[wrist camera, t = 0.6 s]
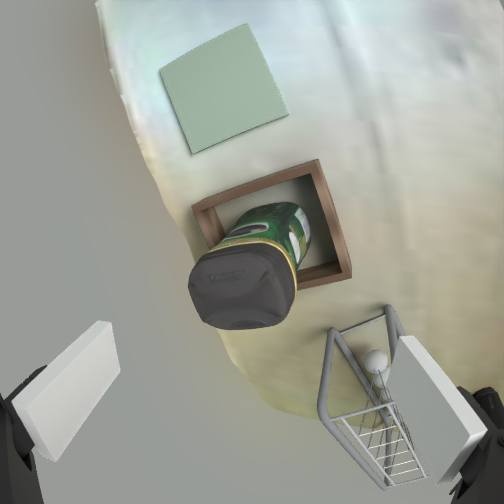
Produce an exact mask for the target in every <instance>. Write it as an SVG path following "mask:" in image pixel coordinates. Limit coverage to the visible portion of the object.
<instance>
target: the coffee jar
mask: <svg viewBox="0 0 504 504" xmlns="http://www.w3.org/2000/svg"><path fill="white" fill-rule="evenodd" d="M310 242H311V233H310V227H309V223H308V220H307V217H306V215H305V213H304V211H303V210H302V209H301V208H300V207H299V206H298V205H296V204H294V203H290V202H281V203H274V204H269V205H264V206H261V207H258V208H255V209H252V210H250V211H248V212H246V213H245V214H244V215H243V216H242V217H241V218H240V219H239V221H238V222H237V223H236V225H235V226H234V228H233V229H232V230H231V231H230V232H229V234H228V235H227V236H226V237H225V238H224V239H223V240H222V241H221V242H220V243H219V244H218V245H216V246H215V247H213V248H212V249H211V250H209V251H208V252H207V253H205V254H204V255H203V256H202V257H201V258H200V259H199V261H198V262H197V264H196V265H195V266H194V268H193V269H192V272H191V274H190V277H189V283H188V288H189V292H190V295H191V298H192V301H193V303H194V306H195V308H196V310H197V312H198V314H199V316H200V318H201V319H202V321H203V322H205V323H208V324H209V325H211V326H214V327H216V328H219V329H224V330H244V329H256V328H263V327H270V326H274V325H277V324H279V323H280V322H282V321H283V320H284V319H285V318H286V316H287V314H288V313H289V311H290V307H291V306H292V303H293V302H294V300H295V297H296V293H297V278H296V272H297V269H298V267H299V265H300V263H301V262H302V260H303V258H304V256H305V254H306V252H307V250H308V248H309V245H310Z"/></svg>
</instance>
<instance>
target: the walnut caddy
mask: <svg viewBox="0 0 504 504" xmlns="http://www.w3.org/2000/svg"><path fill="white" fill-rule="evenodd" d="M309 173H311V176H312V178H313V181H314V184H315V187H316V190H317V193H318V196H319V199H320V202H321V205H322V208H323V211H324V214H325V217H326V220H327V223H328V226H329V229H330V233H331V236H332V239H333V242H334V246H335V249H336V252H337V256H338V259H339V261H336V262H332V263H328V264H324V265H320V266H315V267H311V268H307V269H303V270H299V271H297V272H296V278H297V290H301V289H306V288H311V287H315V286H320V285H324V284H329V283H333V282H337V281H342V280H346V279H350V278H352V267H351V261H350V257H349V254H348V250H347V247H346V243H345V240H344V236H343V233H342V229H341V226H340V223H339V220H338V216H337V213H336V210H335V207H334V204H333V200H332V197H331V194H330V191H329V188H328V185H327V182H326V179H325V176H324V174H323V171H322V168H321V165H320V162H319V159H316V160H313V161H310V162H307V163H303V164H300V165H297V166H294V167H291V168H288V169H285V170H282V171H279V172H276V173H273V174H270V175H268V176H265V177H262V178H259V179H256V180H253V181H251V182H248V183H245V184H242V185H239V186H237V187H234V188H231V189H229V190H226V191H223V192H221V193H218V194H215V195H213V196H210V197H207V198H205V199H203V200H201V201H199V202H198V203H196V204H194V205H192V206H191V207H192V210H193V212H194V214H195V217H196V219H197V221H198V224H199V226H200V228H201V231H202V233H203V235H204V237H205V240H206V242H207V244H208V247H209V249H210V250H211V249H212V248H213V247H215V246H216V245H218V244H219V243H220V242H221V241H222V240H223V239H224V238H225V237H226V235H225V233H224V230H223V228H222V225H221V223H220V221H219V218H218V216H217V213H216V211H215V209H214V206H215V205H217V204H220V203H223V202H226V201H228V200H231V199H234V198H237V197H240V196H243V195H245V194H248V193H251V192H254V191H257V190H260V189H263V188H266V187H269V186H272V185H275V184H278V183H281V182H284V181H287V180H290V179H293V178H296V177H300V176H303V175H306V174H309Z"/></svg>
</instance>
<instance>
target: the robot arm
mask: <svg viewBox="0 0 504 504" xmlns="http://www.w3.org/2000/svg"><path fill="white" fill-rule="evenodd" d="M119 372H120V366H119V361H118V356H117V351H116V346H115V341H114V335H113V330H112V324H111V322H104V321H97V322H96V323H95V324H93V325H92V326H91V327H90V328H89V329H88V330H87V331H86V332H85V333H83V334H82V335H81V336H80V337H79V338H78V339H77V340H75V341H74V342H73V343H72V344H71V345H70V346H69V347H68V348H67V349H66V350H65V351H64V352H62V353H61V354H60V355H59V356H58V357H57V358H56V359H55V360H54V361H53V362H51V363H50V364H49V365H48V366H47V365H45V366H43V367H41V368H39V369H37V370H35V371H34V372H33V373H32V374H31V375H30V376H29V378H27V379H26V380H25V381H24V382H23V383H22V384H20V385H19V386H18V387H17V388H16V389H15V390H14V391H13V392H12V393H11V394H10V395H9V396H8V397H7V398H6V399H5V400H3V398H2V396H1V394H0V504H44V502H43V498H42V494H41V490H40V486H39V481H38V476H37V471H36V465H35V460H34V455H33V453H32V451H31V449H32V448H33V447H34V446H36V448H37V449H38V451H39V453H40V454H41V455H42V456H44V457H46V458H48V459H50V460H52V461H54V462H57V460H58V459H59V457H60V456H61V454H62V453H63V451H64V450H65V448H66V447H67V446H68V444H69V443H70V441H71V439H72V438H73V437H74V435H75V433H76V432H77V431H78V430H79V428H80V427H81V425H82V423H83V422H84V421H85V420H86V418H87V417H88V415H89V414H90V412H91V411H92V410H93V408H94V407H95V405H96V404H97V403H98V401H99V400H100V398H101V397H102V396H103V394H104V393H105V391H106V390H107V389H108V387H109V386H110V385H111V383H112V382H113V381H114V379H115V378H116V376H117V375H118V374H119ZM386 386H387V388H388V390H389V392H390V394H391V396H392V398H393V400H394V402H395V404H396V406H397V408H398V410H399V412H400V414H401V416H402V418H403V420H404V422H405V424H406V426H407V428H408V430H409V432H410V434H411V436H412V438H413V440H414V442H415V445H416V447H417V449H418V451H419V453H420V455H421V457H422V460H423V462H424V464H425V466H426V468H427V471H428V473H429V475H430V477H431V480H432V482H433V484H434V486H439V485H442V484H445V483H448V482H450V481H452V480H453V479H454V477H455V476H456V475H457V473H458V472H460V473H461V475H462V478H461V479H460V481H459V482H458V483H457V484H456V485H455V487H454V488H453V489H452V490H451V492H450V493H449V495H451V494H452V493H453V492H454V491H455V490H456V491H455V494H454V496H453V499H452V502H451V504H504V429H499V430H498V428H497V427H496V426H495V424H494V423H493V422H492V420H491V419H490V418H489V416H488V415H487V414H486V413H485V411H484V410H483V409H482V408H480V407H481V406H480V405H479V404H478V402H476V400H475V399H474V397H473V396H472V395H471V394H470V392H468V391H467V390H465V389H464V388H462V387H461V386H459V387H455V386H454V384H453V383H452V382H451V381H450V379H449V378H448V377H447V376H446V374H445V373H444V372H443V371H442V369H441V368H440V367H439V366H438V364H437V363H436V362H435V361H434V360H433V358H432V357H431V356H430V355H429V354H428V352H427V351H426V350H425V349H424V348H423V346H422V345H421V344H420V343H419V342H418V340H417V339H416V338H415V337H414V336H399V340H398V344H397V348H396V351H395V355H394V359H393V362H392V366H391V369H390V372H389V376H388V379H387V382H386Z"/></svg>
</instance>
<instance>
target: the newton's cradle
mask: <svg viewBox="0 0 504 504" xmlns="http://www.w3.org/2000/svg"><path fill="white" fill-rule="evenodd" d="M384 317H386V324H387V331H388V338H389V346H390V354H391V364H392V362H393V359H394V355H395V351H396V348H397V344H398V339H397V335H398V337H399V336H405V333H404V331H403V329H402V327H401V324H400V322H399V320H398V318H397V315H396V313H395V311H394V309H393V307H392V306H391V305H386V306H385V314H384V315H382V316H380V317H377V318H375V319H373V320H370V321H368V322H365V323H363V324H361V325H358V326H356V327H353V328H351V329H348V330H346V331H343V332H340V333H339V331H338V330H337V329H335V328H331V329H330V330H329V331H328V333H327V341H326V348H325V355H324V362H323V369H322V375H321V382H320V388H319V394H318V400H317V411H318V415H319V418H320V420H321V422H322V423H323V425H324V426H325V427H326V428H327V429H328V430H329V432H330V433H331V434H332V435H333V436H334V437H335V438H336V440H337V441H338V442H339V443H340V444H341V445H342V446H343V448H344V449H345V450H346V451H347V452H348V453H349V454H350V455H351V457H352V458H353V459H354V460H355V461H356V462H357V463H358V464H359V465H360V467H361V468H362V469H363V470H364V471H365V472H366V473H367V474H368V475H369V476H370V477H371V479H372V480H374V482H375V483H376V484H377V485H378V486H379V487H380V488H381V489H382V490H384V491H386V490H388V488H389V487H393V486H397V485H402V484H406V483H410V482H414V481H417V480H421V479H425V478H428V477H430V475H428V476H426V475H425V473H424V471H423V469H422V467H421V465H420V463H419V461H418V459H417V457H416V455H415V451H414V448H413V449H412V447H413V444H412V447H411V444H410V441H411V437H410V434H409V431H408V434H409V437H410V441H409V437H408V434H407V431H406V428H405V431H406V434H407V437H408V439H407V437H406V435H405V432H404V428H403V425H402V423H403V424H404V423H405V422H404V420H403V418H402V416H401V414H400V412H399V410H398V408H397V406H396V404H395V402H394V400H393V398H392V396H391V394H390V392H389V390H388V388H387V386H386V382H387V379H388V376H389V372H390V369H391V367H390V366H387V364H388V357H387V355H386V354H385V353H384V352H383V351H381V350H373V351H371V352H369V353H368V354H367V356H366V357H365V360H364V365H365V368H366V369H367V371H369V372H370V373H373V378H372V383H373V382H374V384H375V385H376V386H378V387H380V399H381V396H382V398H383V399H385V400H387V403H384V404H381V402H380V399H378V397H377V396H376V394H375V392H374V390H373V389H372V383H371V385H370V383H369V382H368V380H367V378H366V377H365V375H364V373H363V371H362V370H361V368H360V366H359V365H358V363H357V361H356V360H355V358H354V356H353V354H352V353H351V351H350V349H349V348H348V346H347V344H346V343H345V341H344V339H343V338H342V336H341V335H342V334H345V333H347V332H350V331H352V330H355V329H357V328H360V327H362V326H365V325H367V324H370V323H372V322H374V321H377V320H379V319H381V318H384ZM334 338H335V340H336V342H337V343H338V345H339V346H340V348H341V350H342V351H343V353H344V354H345V356H346V358H347V359H348V361H349V363H350V364H351V366H352V368H353V369H354V371H355V372H356V374H357V376H358V377H359V379H360V381H361V382H362V384H363V386H364V387H365V389H366V391H367V392H368V394H369V396H368V401H369V397H371V399H372V400H373V402H374V404H375V406H374V407H371V408H368V409H367V405H368V401H367V405H366V409H364V410H361V411H357V412H353V413H349V414H346V415H342V416H338V417H333V418H330V416H329V414H328V411H327V396H328V389H329V381H330V373H331V365H332V356H333V347H334ZM385 406H386V407H387V412H388V410H389V412H390V414H391V416H388V415H387V413H386V411H385V410H384V408H383V407H385ZM376 409H377V413H378V411H379V412H380V414H381V416H382V417H383V419H384V421H385V423H384V427H385V425H386V456H385V462H384V465H385V471H384V470H383V468H384V466H383V468H382V467H381V466H380V465H379V463H378V462H377V461H376V459H378V458H377V457H378V453H379V449H380V446H381V441H382V436H383V433H382V436H381V441H380V445H379V449H378V453H377V457H376V459H375V458H374V457H373V456H372V454H371V453H370V452H369V450H368V449H369V446H370V442H371V438H372V434H373V433H374V432H373V430H374V426H375V422H376V417H377V413H376V417H375V422H374V426H373V430H372V434H371V438H370V442H369V445H368V448H366V447H365V445H364V444H363V443H362V442H361V440H360V439H359V438H358V436H361V435H360V432H361V429H362V425H363V421H364V417H365V413H366V412H369V411H372V410H376ZM362 413H364V417H363V420H362V424H361V428H360V432H359V435H358V436H357V435H356V434H355V432H354V431H353V430H352V428H351V427H350V426H349V424H348V423H347V422H346V420H345V419H344V418H347V417H351V416H354V415H358V414H362ZM390 417H392V418H393V419H394V420H393V425H394V423H395V425H396V426H397V427H398V429H399V435H400V432H401V435H402V438H403V439H404V440H405V442H406V443H407V446H408V450H409V451H411V453H412V455H413V458H414V460H416V463H417V465H418V469H419V468H420V470H421V472H422V474H423V476H424V477H421V478H418V479H414V480H410V481H406V482H403V483H398V484H394V482H393V481H392V480H391V479H390V476H391V470H392V467H391V456H392V455H391V443H392V442H391V435H392V431H391V428H392V430H393V427H395V426H392V427H391V423H390V419H389V418H390ZM339 419H340V420H341V421H342V422H343V423H344V425H345V426H346V427H347V428H348V430H349V431H350V432H351V434H352V435H353V436H354V437H355V439H356V440H357V441H358V443H359V444H360V445H361V446H362V448H363V449H364V450H365V451H366V453H367V454H368V455H369V456H370V458H371V459H372V460H373V461H374V463H375V464H376V465H377V466H378V468H379V469H380V470H381V471H382V473H383V474H384V475H385V480H384V482H383V480H382V479H381V478H380V477H379V476H378V475H377V473H376V472H375V471H374V470H373V469H372V468H371V466H370V465H369V464H368V463H367V462H366V460H365V459H364V458H363V457H362V456H361V455H360V453H359V452H358V451H357V450H356V449H355V448H354V446H353V445H352V444H351V443H350V441H349V440H348V439H347V438H346V436H345V435H344V434H343V433H342V432H341V430H340V429H339V428H338V427H337V425H336V424H335V423H334V422H333V421H334V420H339ZM400 423H401V425H402V427H401V425H400ZM384 427H383V429H382V430H383V432H384V430H385V429H384ZM404 427H405V424H404ZM406 427H407V426H406ZM407 430H408V428H407ZM379 431H381V430H379ZM375 432H377V431H375ZM367 434H368V433H367ZM364 435H366V434H364ZM403 439H402V440H403ZM398 441H400V440H399V436H398V440H397V445H398ZM394 442H395V441H394ZM411 443H412V441H411ZM383 445H384V444H383ZM397 445H396V449H397ZM370 448H372V447H370ZM401 453H402V452H401ZM395 454H396V450H395ZM395 454H394V458H395ZM398 454H399V453H398ZM381 458H382V457H381ZM393 462H394V459H393ZM405 463H407V462H405ZM401 464H402V463H401ZM392 466H393V463H392ZM395 475H396V474H395ZM390 482H391V484H392V485H390Z"/></svg>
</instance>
